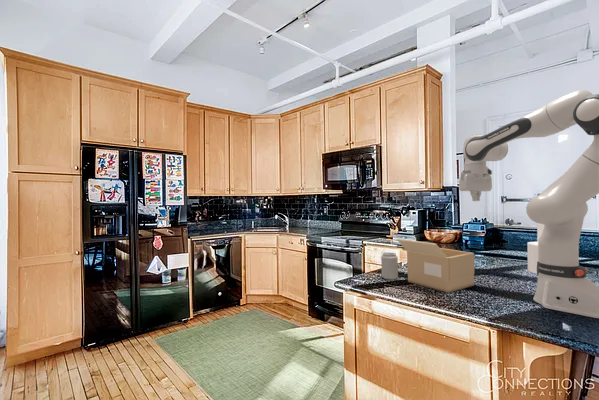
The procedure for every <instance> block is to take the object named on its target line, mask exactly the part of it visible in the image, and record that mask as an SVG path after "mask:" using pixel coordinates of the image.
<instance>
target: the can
mask: <svg viewBox="0 0 599 400" xmlns="http://www.w3.org/2000/svg"><path fill="white" fill-rule="evenodd" d="M380 257H381V258H380V259H381V260H380V261H381V277H382V278H383V279H384V280H388V281H395V280H396V279H398V278H399V266H398V265H399V261H398V260H399V259H398V256H397V254H396V253H395V252H383V253H382V255H381V256H380Z"/></svg>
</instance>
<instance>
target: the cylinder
mask: <svg viewBox="0 0 599 400" xmlns="http://www.w3.org/2000/svg"><path fill="white" fill-rule="evenodd" d="M536 227H537V228H536V229H537V230H536V231H537V232H536V235H537V241H528V242H526V243H527V244H526V245H527V271H528V272H530V273H534V274H537V262H538V240H539V238H540V236H541V235H542V232H543V229H544V225H543V224H539V223H536Z"/></svg>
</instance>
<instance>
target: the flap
mask: <svg viewBox="0 0 599 400" xmlns="http://www.w3.org/2000/svg"><path fill="white" fill-rule="evenodd" d="M396 241H397V242H398V243H399V244H400V245H401V246H402V247H403V249H405V250H406V252H407V251H410V252H416V253H422V254H428V255H434V256H440V257H447V256H446V255H445V254H444V252H443V251H442V250H441V249H440V248H441V247H439V246H438V244H437V243H434V242H426V241H419V240H411V239H403V238H396Z"/></svg>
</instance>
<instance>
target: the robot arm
mask: <svg viewBox="0 0 599 400" xmlns="http://www.w3.org/2000/svg"><path fill="white" fill-rule="evenodd" d="M575 125H578V126H579V127H580V128H581V129H582V130H583V132H585V133H586V135H588V136H593V140H592V143H591V144H590V145H589V146H588V148H586V150H585V151H584V152H583V153H582V154H581V155H580V156H579V157H578V159H577V160H576V161H574V163H573V164H572V165H571V166H570V167H569V168H568V169H567V171H565V172H564V173H563V174H562V175H561V176H560V177H559V178H557V179H556V180H555V181H554V182H553V183H551V184H550V185H549V186H548V187H546V188H545V189H543V191H542V192H541V193H539V194H538V195H536V196H534V197H533V198H532V199H530V200H529V201H528V203H527V205H526V206H525V210H526V214H527V216H528V218H529V219H530V220H531V221H532V222H534V223H536V224H537V223H539V224H543V225H544V229H543V232H542V235H541V236H540V238H539V240H538V262H537V273H536V276H537V283H536V288H535V289H536V290H535V293H534V296H533V298H532V299H533V301H534V302H536V303H538V304H540V305H541V306H542V307H543V308H545V309H549V310H554V311H559V312H563V313H568V314H573V315H580V316H584V317H588V318H594V319H599V285H597V284H596V282H593V281H592V280H590V279H589V278H588V277H587V272H588V268H587V267H586V268H584V267H583V266H581V265H580V263H579V262H580V259H579V256H580V254H579V252H580V251H579V249H580V248H579V247H580V245H579V244H580V237H581V233H582V229H583V225H584V220H585V217H586V216H587V213H588V211H589V206H588V203H587V202H588V201H590V200H591V199H592V198H593V197H595V196H597V195H599V93H597V94H593V93H592V92H590V91H588V90H585V89H578V90H574V91H572V92H570V93H567V94H565V95H563V96H560V97H558V98H556V99H554V100H552V101H550V102H548V103H547V104H544V105H543V106H541V107H539V108H537V109H536V110H534V111H532V112H530V113H528V114H527V115H524V116H522V117H520V118H518V119H516V120H514V121H511V122H509V123H507V124H504V125H503V126H501V127H499V128H497V129H495V130H493V131H491V132H489V133H487V134H484V135H483V134H473V135H469V136H468V137H466V138H465V139H464V141H463V150H462V151H463V153H462V154H463V159H464V163H463V170H462V172H461V173H460V176H459V179H458V189H459V191H460V192H470V193H469V194H470V196H471V198H472V202H480V201H481V199H480V198H481V195H482V192H491V190H492V188H493V177H492V175H493V170H491V168H489V167H488V166H487V162H498V161H502V160H503V159H504V158H506V156H507V154H508V152H509V146H508V144H507V143H509V142H512V141H514V140H518V139H529V138H546V137H550V136H552V135H555V134H558V133H560V132H563V131H565V130H567V129H569V128H570V127H572V126H575Z"/></svg>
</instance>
